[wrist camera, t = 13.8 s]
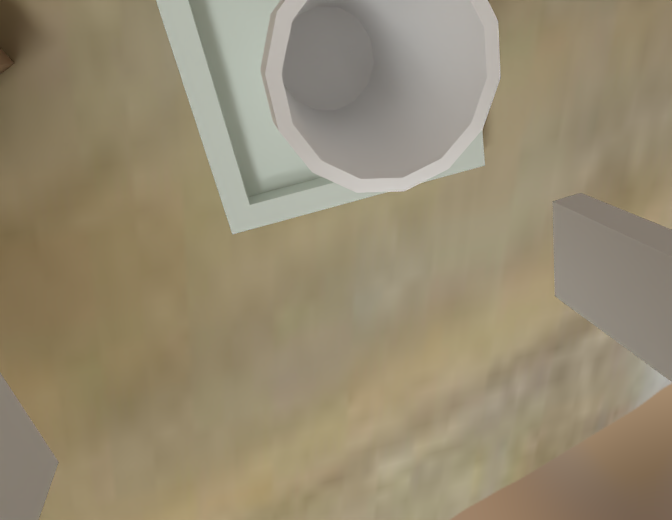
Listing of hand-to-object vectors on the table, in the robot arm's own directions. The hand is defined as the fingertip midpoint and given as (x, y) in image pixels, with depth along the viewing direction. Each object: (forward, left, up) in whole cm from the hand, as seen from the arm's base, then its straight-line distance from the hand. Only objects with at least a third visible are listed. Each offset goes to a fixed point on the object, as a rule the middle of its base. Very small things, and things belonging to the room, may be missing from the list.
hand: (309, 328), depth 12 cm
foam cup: (+6, +4, -23) cm, 24 cm away
